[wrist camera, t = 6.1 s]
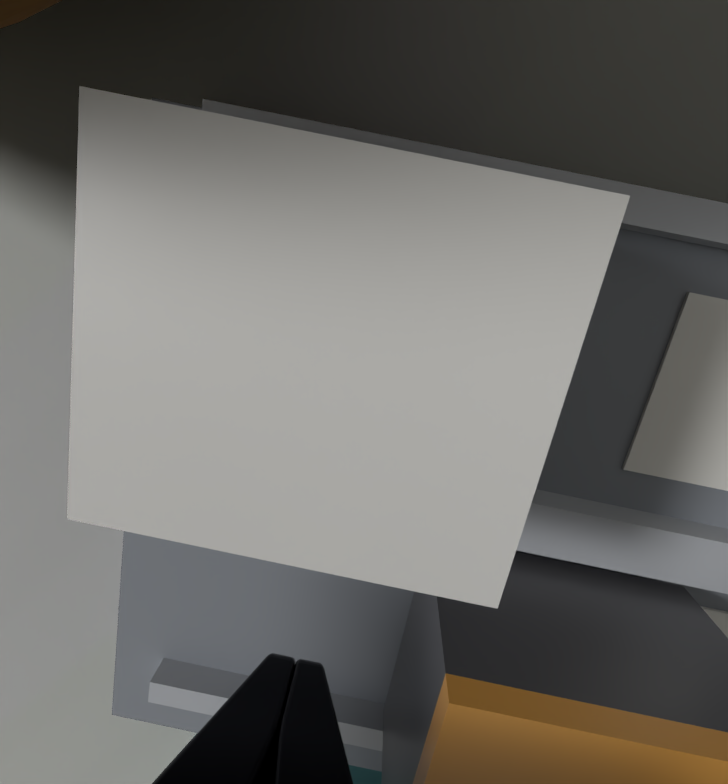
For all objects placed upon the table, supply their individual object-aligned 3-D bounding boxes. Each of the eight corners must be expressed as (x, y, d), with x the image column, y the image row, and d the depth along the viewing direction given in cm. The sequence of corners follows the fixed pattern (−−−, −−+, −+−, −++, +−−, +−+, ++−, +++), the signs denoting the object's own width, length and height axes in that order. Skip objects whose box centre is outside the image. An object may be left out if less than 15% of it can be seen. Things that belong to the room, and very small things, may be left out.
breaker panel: (917, 267, 9) (1075, 272, 7) (670, 770, 12) (726, 875, 10) (191, 122, 9) (131, 84, 7) (145, 659, 12) (95, 740, 10)
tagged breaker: (683, 586, 9) (857, 788, 5) (608, 756, 10) (715, 1010, 6) (429, 533, 9) (449, 702, 5) (383, 708, 10) (376, 937, 7)
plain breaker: (524, 221, 7) (630, 195, 4) (457, 468, 8) (497, 608, 5) (222, 161, 7) (78, 85, 4) (195, 415, 8) (66, 519, 5)
